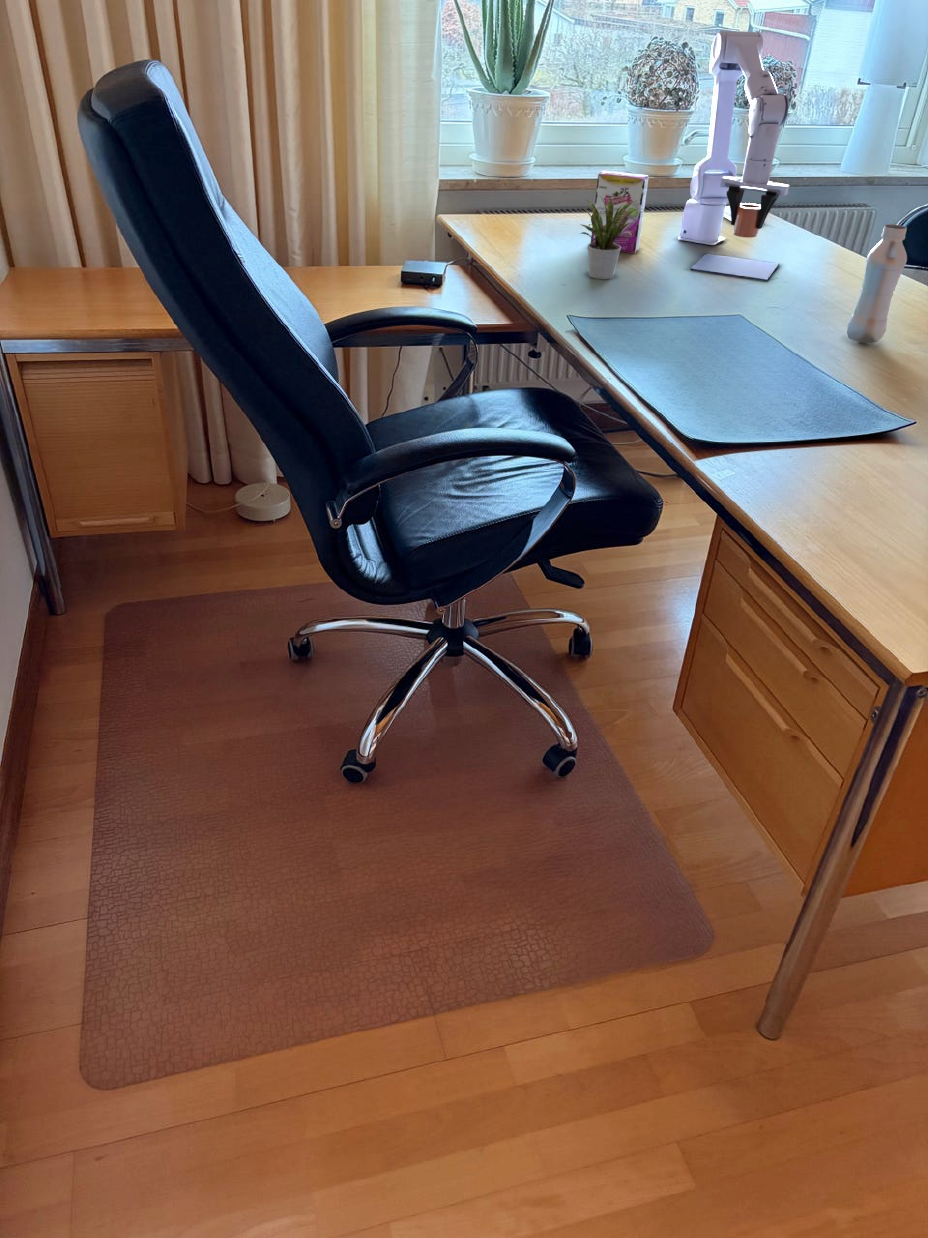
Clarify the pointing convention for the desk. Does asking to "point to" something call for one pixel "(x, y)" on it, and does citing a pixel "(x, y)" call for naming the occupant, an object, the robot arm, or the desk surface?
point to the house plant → (605, 240)
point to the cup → (746, 220)
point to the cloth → (735, 267)
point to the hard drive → (727, 212)
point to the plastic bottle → (878, 286)
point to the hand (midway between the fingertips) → (746, 225)
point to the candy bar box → (620, 193)
